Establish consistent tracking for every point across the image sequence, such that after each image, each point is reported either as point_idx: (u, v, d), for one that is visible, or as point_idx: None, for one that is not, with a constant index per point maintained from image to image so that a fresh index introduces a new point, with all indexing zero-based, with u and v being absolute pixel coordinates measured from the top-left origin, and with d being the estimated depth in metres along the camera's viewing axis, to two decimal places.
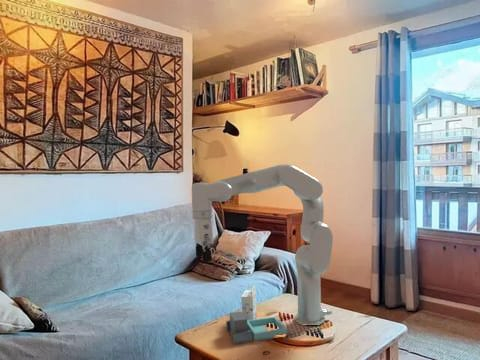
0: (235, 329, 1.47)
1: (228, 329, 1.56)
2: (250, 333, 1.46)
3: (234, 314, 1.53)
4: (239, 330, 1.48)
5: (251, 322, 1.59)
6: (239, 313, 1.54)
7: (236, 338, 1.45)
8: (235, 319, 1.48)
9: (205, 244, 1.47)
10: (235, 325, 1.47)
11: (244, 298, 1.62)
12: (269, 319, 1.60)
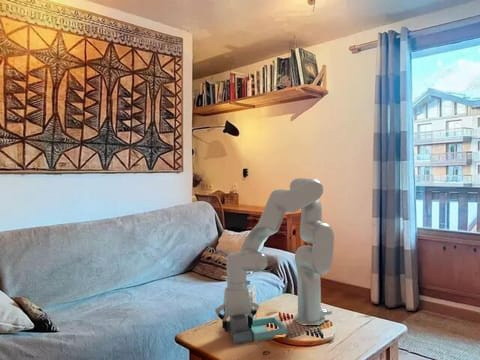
0: (235, 329, 1.47)
1: (228, 329, 1.56)
2: (250, 333, 1.46)
3: None
4: (239, 330, 1.47)
5: None
6: None
7: (236, 338, 1.45)
8: (235, 319, 1.48)
9: None
10: (235, 325, 1.47)
11: None
12: (269, 319, 1.60)
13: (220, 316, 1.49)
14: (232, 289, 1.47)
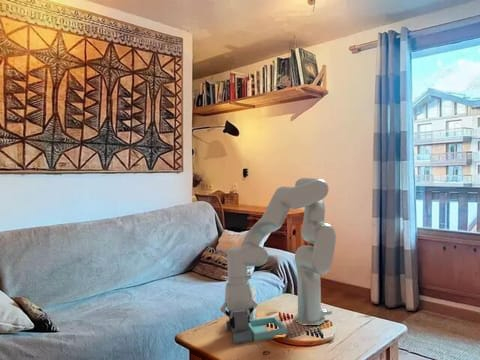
0: (236, 326, 1.47)
1: (228, 329, 1.56)
2: (250, 333, 1.46)
3: (235, 311, 1.53)
4: (240, 327, 1.48)
5: (251, 322, 1.59)
6: (240, 310, 1.54)
7: (236, 338, 1.45)
8: (236, 316, 1.48)
9: None
10: (236, 322, 1.47)
11: None
12: (269, 319, 1.60)
13: (227, 313, 1.49)
14: (233, 284, 1.47)
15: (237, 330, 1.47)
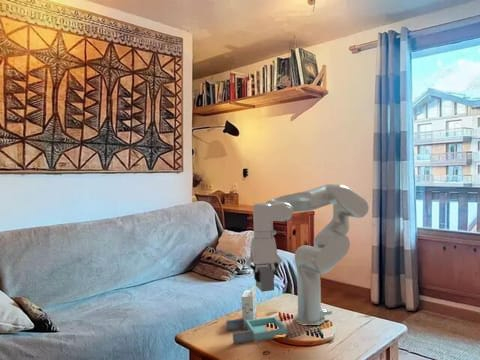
0: (262, 279, 1.49)
1: (228, 329, 1.56)
2: (250, 333, 1.46)
3: (260, 266, 1.55)
4: (266, 280, 1.49)
5: (251, 322, 1.59)
6: (264, 266, 1.56)
7: (236, 338, 1.45)
8: (261, 270, 1.50)
9: None
10: (262, 275, 1.49)
11: (244, 298, 1.62)
12: (269, 319, 1.60)
13: (252, 267, 1.51)
14: (259, 238, 1.49)
15: (262, 283, 1.49)
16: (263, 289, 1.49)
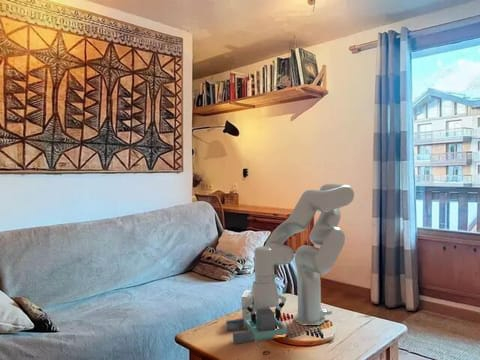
0: (262, 323, 1.50)
1: (228, 329, 1.56)
2: (250, 333, 1.46)
3: None
4: (266, 324, 1.50)
5: (251, 322, 1.59)
6: (265, 308, 1.56)
7: (236, 338, 1.45)
8: (262, 313, 1.51)
9: None
10: (263, 319, 1.50)
11: (244, 298, 1.62)
12: None
13: (249, 309, 1.51)
14: (261, 282, 1.50)
15: (263, 327, 1.50)
16: None
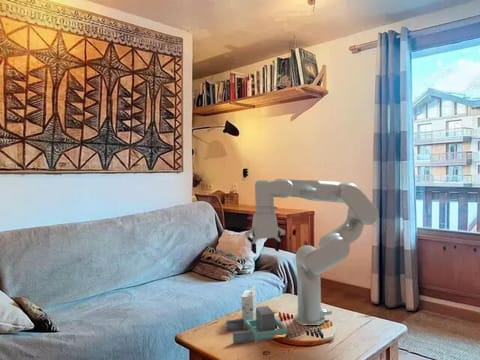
0: (262, 323, 1.50)
1: (228, 329, 1.56)
2: (250, 333, 1.46)
3: (261, 308, 1.55)
4: (266, 324, 1.50)
5: (251, 322, 1.59)
6: (265, 308, 1.56)
7: (236, 338, 1.45)
8: (262, 313, 1.51)
9: None
10: (263, 319, 1.50)
11: (244, 298, 1.62)
12: None
13: (249, 239, 1.58)
14: (261, 213, 1.56)
15: (263, 327, 1.50)
16: None
